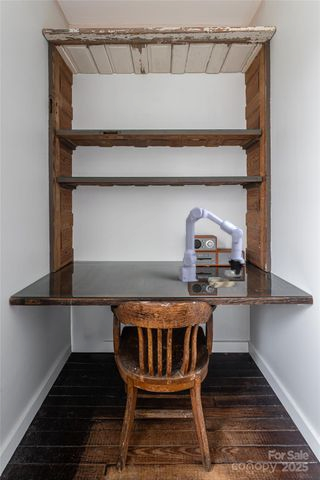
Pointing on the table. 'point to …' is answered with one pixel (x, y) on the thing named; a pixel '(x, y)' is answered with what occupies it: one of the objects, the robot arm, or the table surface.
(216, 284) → the parallel rails
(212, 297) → the table surface
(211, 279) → the v block
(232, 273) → the axle
